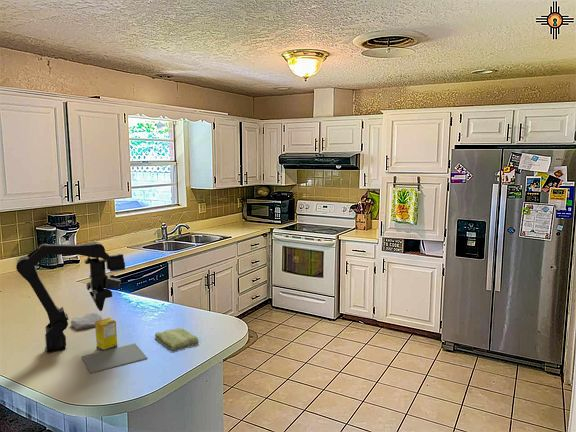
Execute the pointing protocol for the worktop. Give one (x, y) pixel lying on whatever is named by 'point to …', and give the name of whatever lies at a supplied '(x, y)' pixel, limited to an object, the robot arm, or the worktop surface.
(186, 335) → the washcloth
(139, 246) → the worktop surface
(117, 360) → the grey mat
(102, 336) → the supplement box
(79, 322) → the stone block
